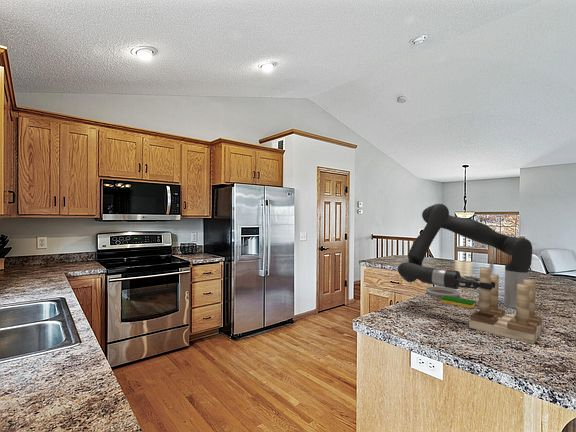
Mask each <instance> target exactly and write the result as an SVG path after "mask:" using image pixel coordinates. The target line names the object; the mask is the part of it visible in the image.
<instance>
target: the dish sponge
mask: <svg viewBox="0 0 576 432" xmlns="http://www.w3.org/2000/svg"><path fill="white" fill-rule="evenodd" d="M440 302H441V303H445V304H450V305H454V306H459V307H464V308H468V309H472V308H475V306H476V300H471V299H466V298H462V297H461V298H460V297H451V296H443V297H440Z"/></svg>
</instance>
